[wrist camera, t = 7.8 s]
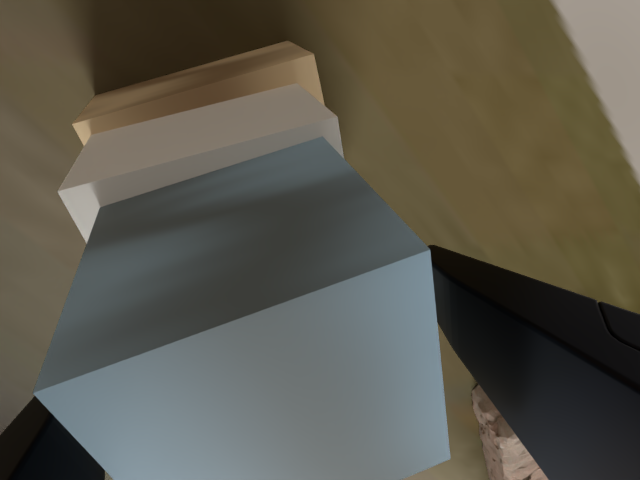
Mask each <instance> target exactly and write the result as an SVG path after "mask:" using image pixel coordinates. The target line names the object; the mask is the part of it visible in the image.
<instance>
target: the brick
mask: <svg viewBox="0 0 640 480" xmlns="http://www.w3.org/2000/svg"><path fill="white" fill-rule="evenodd" d="M472 400H473V409H474V412H475V415H476V417H477V419H478V421H479V434H480V438H481V440H482V442H483V447H482V448H483V451H484V456H485V460H486V466H487V470H488V474H489V479H490V480H549V479H548V478H547V477H546V475H545V474H544V473H543V471H542V470H541V469H540V467H539V466H538V464H537V463H536V462H535V460H534V459H533V458H532V456H531V455H530V454H529V452H528V451H527V449H526V448H525V447H524V445H523V444H522V443H521V441H520V440H519V439H518V437H517V436H516V434H515V433H514V432H513V430H512V429H511V428H510V426H509V425H508V424H507V422H506V421H505V420H504V418H503V417H502V415H501V414H500V413H499V411H498V410H497V409H496V407H495V406H494V405H493V403H492V402H491V400H490V399H489V398H488V396H487V395H486V394H485V392H484V391H483V390H482V388H481V387H480V385H479V384H478V385H477V386H476V387H475V388H474V389H473V390H472Z"/></svg>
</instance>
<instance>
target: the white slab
mask: <svg viewBox="0 0 640 480" xmlns="http://www.w3.org/2000/svg"><path fill="white" fill-rule="evenodd" d="M322 136H323V137H324V138H325V139H326V140H327V141H328V142H329V143H330V145H331V146H332V147H333V148H334V149H335V150H336V151H337V152H338V153H339V154H340V155H341V156H342V157H343V158H344V155H343V149H342V142H341V136H340V130H339V123H338V117H337V116H336V115H335V114H334V113H333V112H331V111H330V110H329V109H328V108H327V107H325V106H324V105H323V104H322V103H320V102H319V101H318V100H317V99H316V98H314V97H313V96H312V95H311V94H310V93H308V92H307V91H306V90H305V89H304V88H302V87H301V86H300V85H299V84H298V83H295V84H291V85H287V86H283V87H279V88H275V89H271V90H267V91H263V92H259V93H255V94H251V95H247V96H243V97H239V98H235V99H231V100H227V101H223V102H219V103H216V104H212V105H208V106H204V107H200V108H196V109H192V110H188V111H184V112H180V113H176V114H172V115H168V116H164V117H160V118H156V119H152V120H148V121H144V122H140V123H136V124H132V125H128V126H124V127H120V128H116V129H112V130H108V131H104V132H101V133H97V134H93V135H91V136H90V138H89V139H88V141H87V143H86V144H85V146H84V148H83V149H82V151H81V153H80V154H79V156H78V158H77V159H76V161H75V163H74V164H73V166H72V168H71V169H70V171H69V173H68V174H67V176H66V178H65V179H64V181H63V183H62V184H61V186H60V188H59V189H58V191H57V192H58V194H59V196H60V197H61V199H62V201H63V203H64V204H65V206H66V208H67V210H68V211H69V213H70V215H71V217H72V218H73V220H74V222H75V224H76V225H77V227H78V229H79V231H80V232H81V234H82V236H83V238H84V239H85V241H86V243H87V242H88V239H89V236H90V233H91V230H92V228H93V225H94V222H95V219H96V217H97V214H98V211H99V208H100V207H103V206H106V205H109V204H112V203H115V202H118V201H121V200H125V199H128V198H131V197H134V196H137V195H140V194H143V193H147V192H150V191H153V190H156V189H159V188H162V187H165V186H168V185H172V184H175V183H178V182H181V181H184V180H187V179H190V178H194V177H197V176H200V175H203V174H206V173H209V172H212V171H216V170H219V169H222V168H225V167H228V166H231V165H234V164H237V163H241V162H244V161H247V160H250V159H253V158H256V157H259V156H263V155H266V154H269V153H272V152H275V151H278V150H281V149H285V148H288V147H291V146H294V145H297V144H300V143H303V142H306V141H310V140H313V139H316V138H319V137H322Z"/></svg>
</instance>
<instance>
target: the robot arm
mask: <svg viewBox="0 0 640 480" xmlns="http://www.w3.org/2000/svg"><path fill="white" fill-rule="evenodd" d="M427 247H428V248H429V249H430V252H431V263H432V273H433V283H434V294H435V304H436V315H437V322H438V324H439V326H440V328H441V329H442V331H443V333H444V335H445V336H446V338H447V340H448V341H449V343H450V345H451V346H452V348H453V350H454V351H455V352H456V354H457V355H458V357H459V358H460V360H461V361H462V362H463V364H464V365H465V366H466V368H467V369H468V370H469V372H470V373H471V375H472V376H473V377H474V379H475V380H476V381H477V383H478V384H479V385H480V387H481V388H482V390H483V391H484V392H485V394H486V395H487V396H488V398H489V399H490V400H491V402H492V403H493V405H494V406H495V407H496V409H497V410H498V411H499V413H500V414H501V415H502V417H503V418H504V420H505V421H506V422H507V424H508V425H509V426H510V428H511V429H512V430H513V432H514V433H515V434H516V436H517V437H518V439H519V440H520V441H521V443H522V444H523V445H524V447H525V448H526V449H527V451H528V452H529V454H530V455H531V456H532V458H533V459H534V460H535V462H536V463H537V464H538V466H539V467H540V469H541V470H542V471H543V473H544V474H545V475H546V477H547V478H548V479H549V480H640V314H637V313H634V312H631V311H628V310H625V309H622V308H619V307H616V306H613V305H610V304H607V303H604V302H599V303H598V302H597V301H596V300H595V299H592V298H589V297H586V296H583V295H580V294H577V293H574V292H571V291H568V290H565V289H562V288H559V287H557V286H554V285H551V284H548V283H545V282H542V281H539V280H536V279H533V278H530V277H527V276H524V275H521V274H518V273H515V272H512V271H509V270H506V269H504V268H501V267H498V266H495V265H492V264H489V263H486V262H483V261H480V260H477V259H474V258H471V257H468V256H465V255H462V254H459V253H456V252H453V251H451V250H448V249H445V248H442V247H439V246H436V245H429V246H427ZM0 480H105V470H104V469H103V468H102V467H101V465H100V464H99V463H98V462H97V461H96V460H95V459H94V458H93V457H92V456H91V455H90V454H89V453H88V452H87V451H86V449H85V448H84V447H83V446H82V445H81V444H80V443H79V442H78V441H77V440H76V439H75V438H74V437H73V436H72V435H71V434H70V432H69V431H68V430H67V429H66V428H65V427H64V426H63V425H62V424H61V423H60V422H59V421H58V420H57V419H56V418H55V416H54V415H53V414H52V413H51V412H50V411H49V410H48V409H47V408H46V407H45V406H44V405H43V404H42V403H41V402H40V400H39V399H38V398H37V397H36V396H35V397H34V398H33V399H32V400H31V401H30V402H29V403H28V404H27V406H26V407H25V408H24V409H23V410H22V411H21V412H20V413H19V415H18V416H17V417H16V418H15V419H14V420H13V421H12V422H11V424H10V425H9V426H8V427H7V428H6V429H5V430H4V431H3V433H2V434H1V435H0Z"/></svg>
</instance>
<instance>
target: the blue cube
mask: <svg viewBox="0 0 640 480" xmlns="http://www.w3.org/2000/svg"><path fill="white" fill-rule="evenodd" d="M33 394H34V395H35V396H36V397H37V398H38V399H39V400H40V402H41V403H42V404H43V405H44V406H45V407H46V408H47V409H48V410H49V411H50V412H51V413H52V414H53V415H54V416H55V418H56V419H57V420H58V421H59V422H60V423H61V424H62V425H63V426H64V427H65V428H66V429H67V430H68V431H69V432H70V434H71V435H72V436H73V437H74V438H75V439H76V440H77V441H78V442H79V443H80V444H81V445H82V446H83V447H84V448H85V449H86V451H87V452H88V453H89V454H90V455H91V456H92V457H93V458H94V459H95V460H96V461H97V462H98V463H99V464H100V465H101V467H102V468H103V469H104V470H105V471H106V472H107V473H108V474H109V475H110V476H111V477H112V478H113V479H114V480H402V479H404V478H407V477H409V476H411V475H414V474H416V473H418V472H421V471H423V470H425V469H428V468H430V467H433V466H435V465H437V464H440V463H442V462H444V461H447V460H449V459H450V450H449V439H448V429H447V418H446V408H445V398H444V387H443V377H442V366H441V356H440V346H439V335H438V325H437V315H436V304H435V294H434V283H433V273H432V263H431V252H430V249H429V248H428V247H427V246H426V245H425V244H424V243H423V241H422V240H421V239H420V238H419V237H418V236H417V235H416V234H415V233H414V232H413V231H412V230H411V229H410V228H409V227H408V226H407V225H406V224H405V222H404V221H403V220H402V219H401V218H400V217H399V216H398V215H397V214H396V213H395V212H394V211H393V210H392V209H391V208H390V207H389V206H388V205H387V204H386V202H385V201H384V200H383V199H382V198H381V197H380V196H379V195H378V194H377V193H376V192H375V191H374V190H373V189H372V188H371V187H370V186H369V185H368V184H367V182H366V181H365V180H364V179H363V178H362V177H361V176H360V175H359V174H358V173H357V172H356V171H355V170H354V169H353V168H352V167H351V166H350V165H349V164H348V162H347V161H346V160H345V159H344V158H343V157H342V156H341V155H340V154H339V153H338V152H337V151H336V150H335V149H334V148H333V147H332V146H331V145H330V143H329V142H328V141H327V140H326V139H325V138H324V137H323V136H322V137H319V138H316V139H313V140H310V141H306V142H303V143H300V144H297V145H294V146H291V147H288V148H285V149H281V150H278V151H275V152H272V153H269V154H266V155H263V156H259V157H256V158H253V159H250V160H247V161H244V162H241V163H237V164H234V165H231V166H228V167H225V168H222V169H219V170H216V171H212V172H209V173H206V174H203V175H200V176H197V177H194V178H190V179H187V180H184V181H181V182H178V183H175V184H172V185H168V186H165V187H162V188H159V189H156V190H153V191H150V192H147V193H143V194H140V195H137V196H134V197H131V198H128V199H125V200H121V201H118V202H115V203H112V204H109V205H106V206H103V207H100V208H99V211H98V214H97V217H96V219H95V222H94V225H93V228H92V230H91V233H90V236H89V239H88V242H87V244H86V247H85V250H84V253H83V255H82V258H81V261H80V264H79V266H78V269H77V272H76V275H75V277H74V280H73V283H72V286H71V289H70V291H69V294H68V297H67V300H66V302H65V305H64V308H63V311H62V313H61V316H60V319H59V322H58V324H57V327H56V330H55V333H54V336H53V338H52V341H51V344H50V347H49V349H48V352H47V355H46V358H45V360H44V363H43V366H42V369H41V371H40V374H39V377H38V380H37V383H36V385H35V388H34V391H33Z"/></svg>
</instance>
